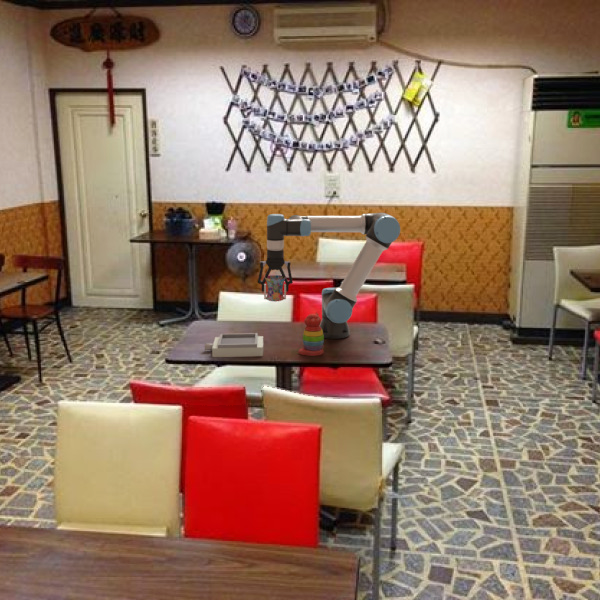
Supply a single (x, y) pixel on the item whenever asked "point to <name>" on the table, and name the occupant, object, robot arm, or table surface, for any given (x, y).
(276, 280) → the mug
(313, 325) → the stacking bear
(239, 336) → the open box
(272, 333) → the table surface
